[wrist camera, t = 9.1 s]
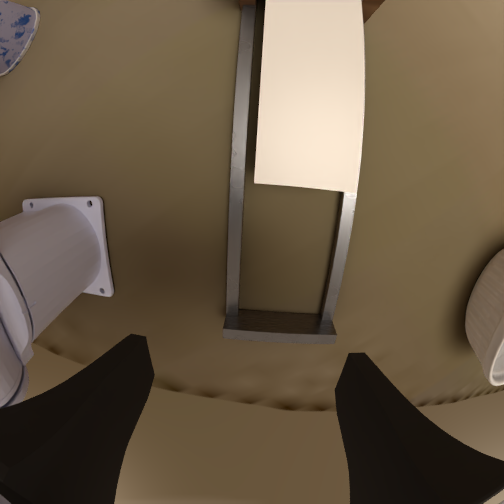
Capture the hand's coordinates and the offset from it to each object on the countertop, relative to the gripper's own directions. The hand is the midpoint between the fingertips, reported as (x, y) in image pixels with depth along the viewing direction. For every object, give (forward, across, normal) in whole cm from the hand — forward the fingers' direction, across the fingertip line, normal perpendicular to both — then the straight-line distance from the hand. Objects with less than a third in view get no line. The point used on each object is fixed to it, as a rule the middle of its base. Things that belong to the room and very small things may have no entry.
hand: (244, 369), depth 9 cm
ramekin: (+10, -25, +2) cm, 27 cm away
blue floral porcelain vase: (+10, +25, -21) cm, 34 cm away
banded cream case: (+10, -2, -13) cm, 16 cm away
